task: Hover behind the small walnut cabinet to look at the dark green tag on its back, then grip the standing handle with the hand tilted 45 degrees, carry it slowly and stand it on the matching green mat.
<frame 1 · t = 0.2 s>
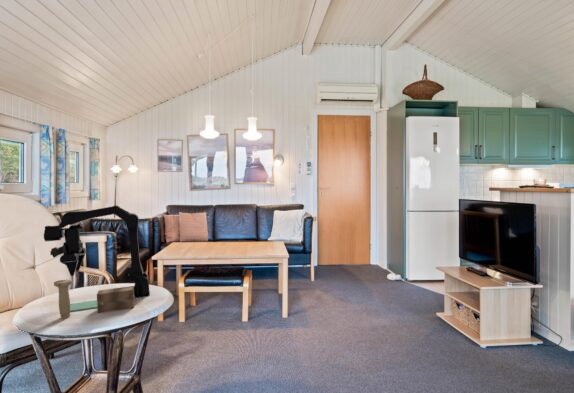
hand: (75, 273, 159), 14 cm above the table, tool pointing down, fingers open, 9 cm apart
mat: (81, 306, 156), on the table
cabinet: (116, 308, 153), on the table
handle: (65, 317, 144), on the table
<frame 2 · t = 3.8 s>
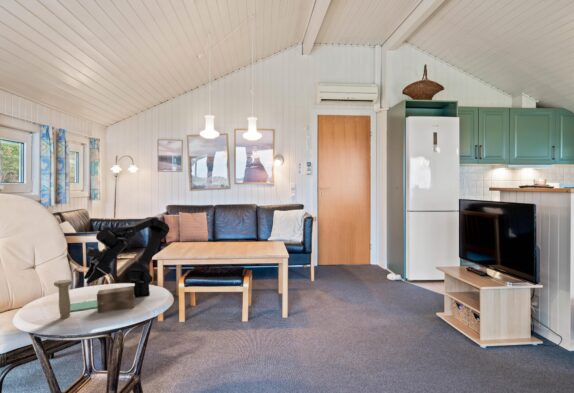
hand: (85, 280, 148), 14 cm above the table, tool tilted 45°, fingers open, 9 cm apart
nothing on the table moved.
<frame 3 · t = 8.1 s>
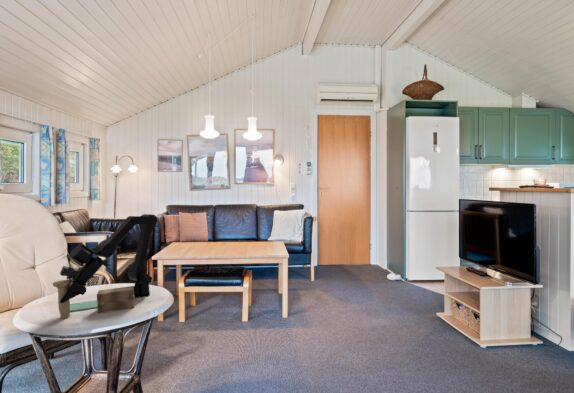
hand: (60, 301, 143), 7 cm above the table, tool tilted 45°, fingers open, 4 cm apart
handle: (65, 317, 144), on the table, touching gripper
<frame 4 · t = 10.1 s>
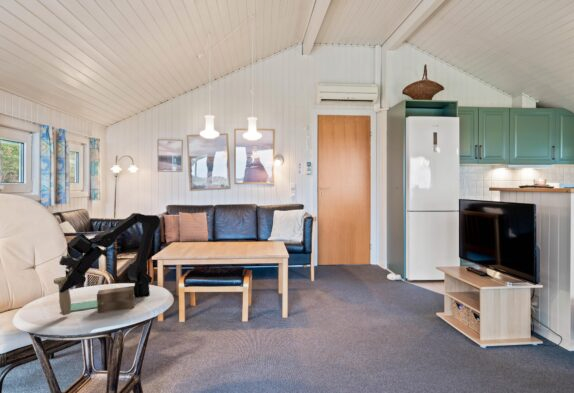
hand: (59, 290, 143), 11 cm above the table, tool tilted 45°, fingers closed on handle, 5 cm apart
handle: (66, 314, 145), point 1 cm above the table, touching gripper
when the fingers open (11 cm above the table, at t = 14.5 s): handle stays where it is, resting on mat.
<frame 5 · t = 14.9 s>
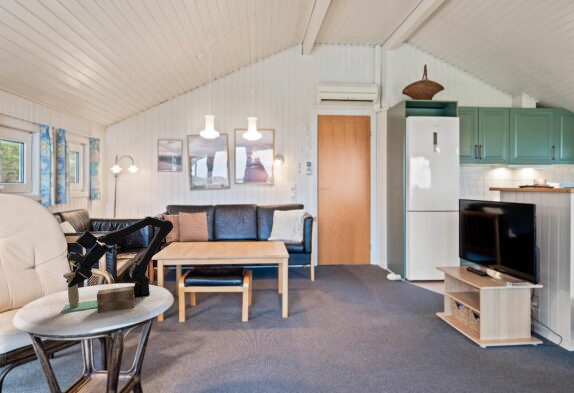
hand: (67, 284, 152), 11 cm above the table, tool tilted 45°, fingers open, 9 cm apart
handle: (74, 307, 154), resting on mat
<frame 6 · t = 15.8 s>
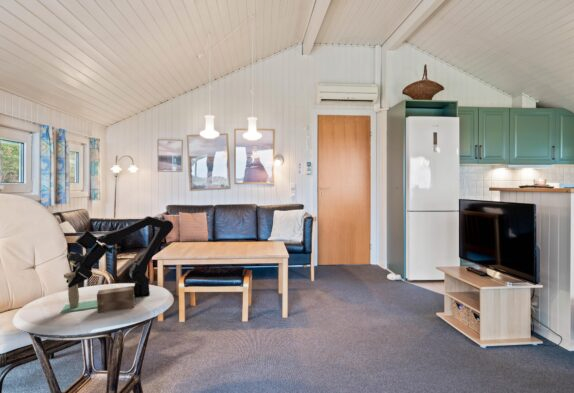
hand: (67, 284, 152), 11 cm above the table, tool tilted 45°, fingers open, 9 cm apart
nothing on the table moved.
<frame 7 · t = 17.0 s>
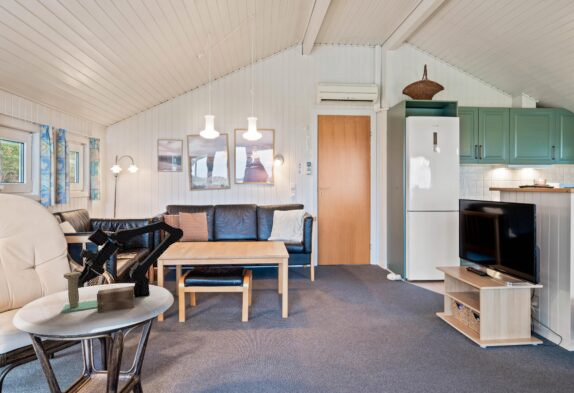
hand: (80, 281, 155), 12 cm above the table, tool tilted 45°, fingers open, 9 cm apart
nothing on the table moved.
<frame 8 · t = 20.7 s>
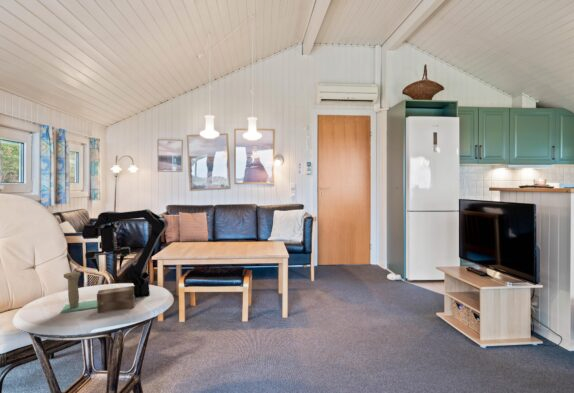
hand: (109, 270, 168), 13 cm above the table, tool pointing down, fingers open, 9 cm apart
nothing on the table moved.
at the end: handle inside the target area on the mat (2.7 cm from its centre), point 0.4 cm above the mat's base; handle tilted 0°; the gripper is holding nothing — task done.
